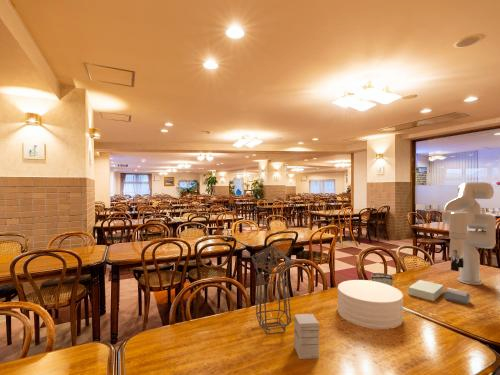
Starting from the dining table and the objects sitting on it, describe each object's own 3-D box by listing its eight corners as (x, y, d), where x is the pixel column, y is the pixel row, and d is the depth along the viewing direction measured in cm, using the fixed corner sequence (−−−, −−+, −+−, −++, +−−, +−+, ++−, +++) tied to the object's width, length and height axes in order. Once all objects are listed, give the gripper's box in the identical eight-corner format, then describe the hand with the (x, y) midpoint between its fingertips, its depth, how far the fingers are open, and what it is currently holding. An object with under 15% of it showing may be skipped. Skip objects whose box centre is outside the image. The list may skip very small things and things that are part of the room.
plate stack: (410, 313, 136) (410, 289, 136) (390, 336, 115) (391, 308, 115) (352, 297, 155) (352, 276, 155) (327, 314, 135) (327, 290, 134)
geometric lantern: (296, 336, 115) (295, 249, 114) (258, 341, 113) (256, 252, 111) (285, 317, 131) (284, 241, 129) (251, 321, 128) (249, 243, 127)
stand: (419, 286, 171) (419, 279, 171) (443, 292, 162) (443, 285, 162) (408, 294, 159) (408, 287, 159) (433, 301, 150) (433, 293, 150)
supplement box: (293, 347, 108) (293, 313, 107) (313, 346, 108) (313, 313, 108) (298, 359, 100) (298, 323, 100) (319, 358, 101) (319, 322, 101)
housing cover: (448, 290, 155) (448, 287, 155) (468, 294, 149) (468, 292, 149) (446, 291, 153) (446, 288, 153) (466, 296, 146) (466, 293, 146)
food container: (389, 290, 165) (389, 273, 164) (393, 294, 158) (394, 276, 158) (367, 289, 166) (367, 272, 166) (370, 293, 160) (370, 275, 159)
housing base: (447, 296, 156) (447, 289, 156) (469, 302, 149) (469, 294, 149) (444, 299, 153) (444, 291, 153) (467, 305, 145) (467, 297, 145)
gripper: (453, 233, 158) (453, 264, 159) (444, 236, 147) (444, 270, 147) (470, 235, 153) (469, 267, 153) (462, 238, 141) (462, 273, 141)
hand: (457, 268), depth 150 cm, fingers open, 9 cm apart
